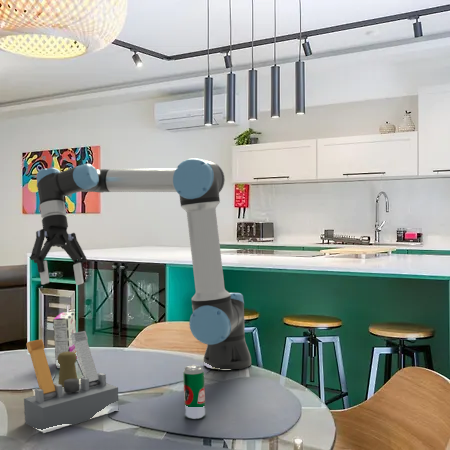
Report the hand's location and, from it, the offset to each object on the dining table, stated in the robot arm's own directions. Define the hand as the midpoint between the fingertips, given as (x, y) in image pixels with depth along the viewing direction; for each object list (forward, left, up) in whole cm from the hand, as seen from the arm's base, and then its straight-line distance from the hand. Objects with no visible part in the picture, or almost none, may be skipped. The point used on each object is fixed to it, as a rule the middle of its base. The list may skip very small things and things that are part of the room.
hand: (63, 283), depth 178 cm
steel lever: (-26, +22, -22) cm, 40 cm away
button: (-23, +28, -23) cm, 43 cm away
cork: (-9, +11, -29) cm, 32 cm away
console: (-23, +28, -29) cm, 46 cm away
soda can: (-52, +19, -29) cm, 62 cm away
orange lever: (-21, +33, -22) cm, 45 cm away
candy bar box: (+10, -13, -29) cm, 33 cm away
